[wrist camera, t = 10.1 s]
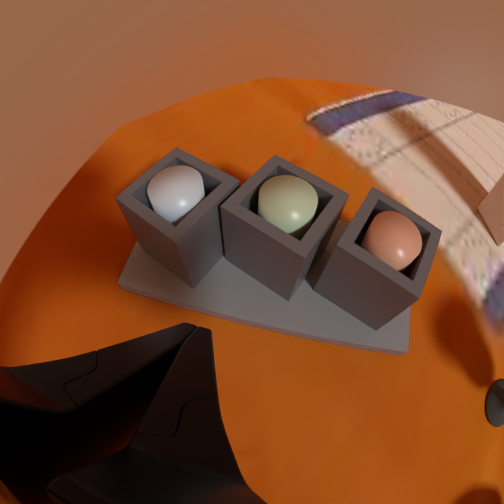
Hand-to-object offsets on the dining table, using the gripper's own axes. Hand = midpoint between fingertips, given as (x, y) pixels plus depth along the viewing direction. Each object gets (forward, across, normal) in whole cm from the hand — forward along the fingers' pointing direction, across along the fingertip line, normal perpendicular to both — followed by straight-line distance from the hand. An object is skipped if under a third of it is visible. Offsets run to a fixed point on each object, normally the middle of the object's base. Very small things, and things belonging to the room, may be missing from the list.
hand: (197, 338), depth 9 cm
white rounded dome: (+14, +6, 0) cm, 15 cm away
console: (+17, -2, +2) cm, 17 cm away
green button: (+14, -1, -1) cm, 14 cm away
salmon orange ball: (+14, -9, 0) cm, 16 cm away
